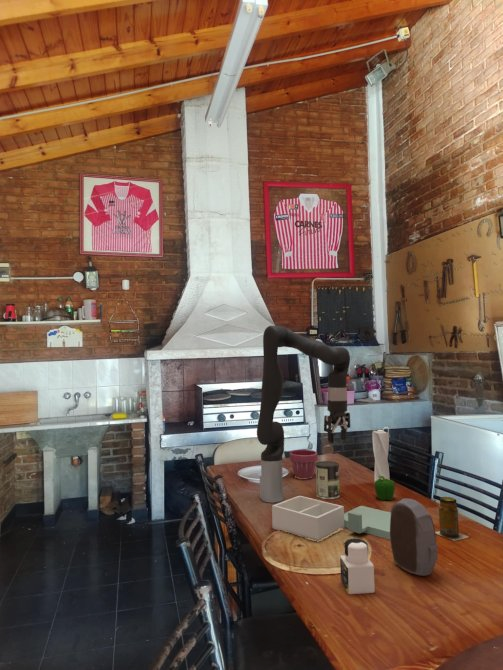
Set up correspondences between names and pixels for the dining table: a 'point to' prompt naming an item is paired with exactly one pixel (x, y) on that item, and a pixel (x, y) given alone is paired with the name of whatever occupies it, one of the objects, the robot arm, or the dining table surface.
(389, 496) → the bell pepper
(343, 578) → the medicine bottle
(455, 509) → the condiment
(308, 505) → the parts tub
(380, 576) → the dining table surface
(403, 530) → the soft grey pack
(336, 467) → the coffee can
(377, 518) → the lid
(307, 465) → the plant pot
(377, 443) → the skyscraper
